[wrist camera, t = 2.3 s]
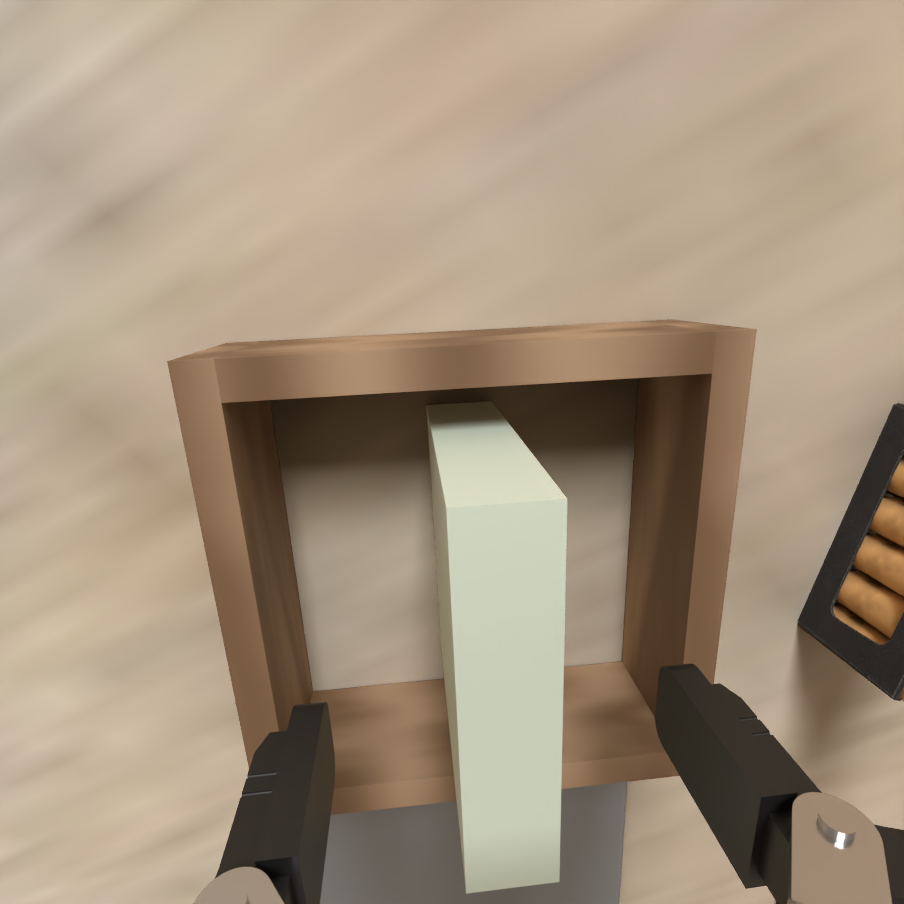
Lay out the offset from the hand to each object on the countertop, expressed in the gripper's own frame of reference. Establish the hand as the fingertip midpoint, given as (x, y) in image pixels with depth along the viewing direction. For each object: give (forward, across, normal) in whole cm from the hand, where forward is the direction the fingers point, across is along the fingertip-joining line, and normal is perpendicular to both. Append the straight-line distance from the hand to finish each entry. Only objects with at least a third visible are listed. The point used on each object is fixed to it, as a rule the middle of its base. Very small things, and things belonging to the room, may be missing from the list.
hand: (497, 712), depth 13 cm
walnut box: (+10, 0, 0) cm, 10 cm away
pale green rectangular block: (+10, 0, 0) cm, 10 cm away
